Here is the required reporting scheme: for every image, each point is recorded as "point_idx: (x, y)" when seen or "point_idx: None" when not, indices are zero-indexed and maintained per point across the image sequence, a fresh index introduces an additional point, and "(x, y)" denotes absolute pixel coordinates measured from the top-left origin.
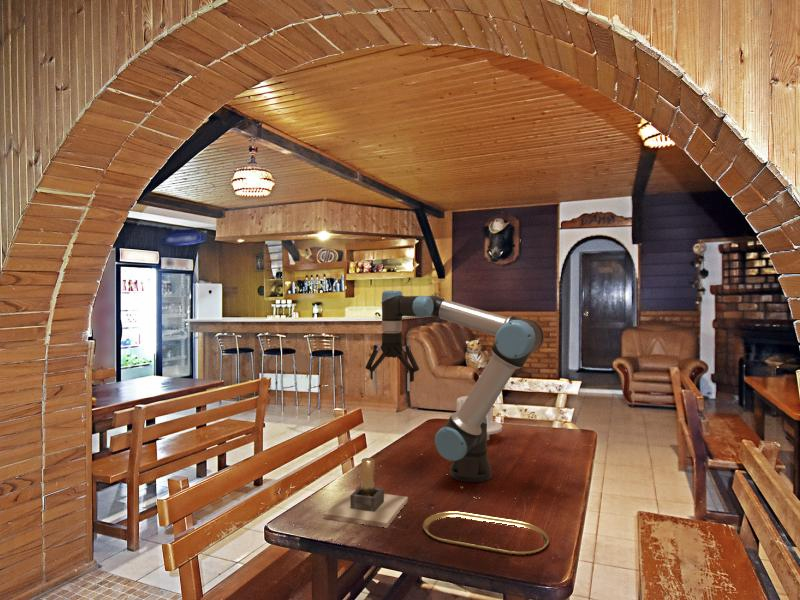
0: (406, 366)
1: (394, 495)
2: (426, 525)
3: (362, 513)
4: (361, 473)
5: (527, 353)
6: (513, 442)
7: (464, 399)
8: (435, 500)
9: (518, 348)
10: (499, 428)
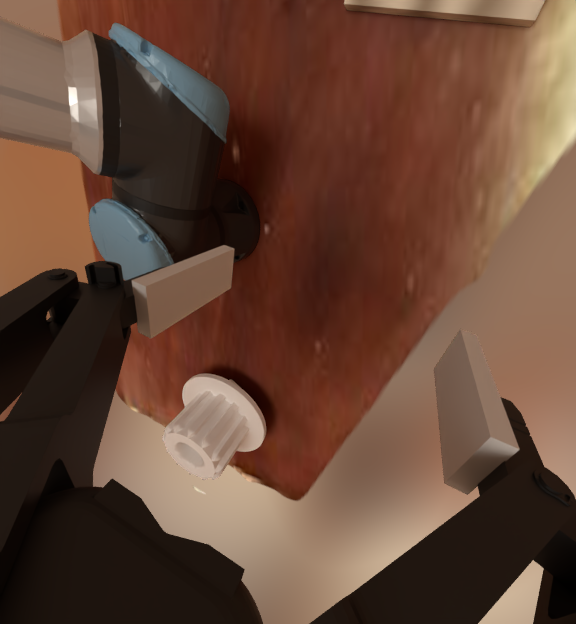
0: (95, 319)
1: (382, 3)
2: None
3: None
4: None
5: None
6: (185, 374)
7: (204, 457)
8: (280, 43)
9: None
10: (184, 389)
